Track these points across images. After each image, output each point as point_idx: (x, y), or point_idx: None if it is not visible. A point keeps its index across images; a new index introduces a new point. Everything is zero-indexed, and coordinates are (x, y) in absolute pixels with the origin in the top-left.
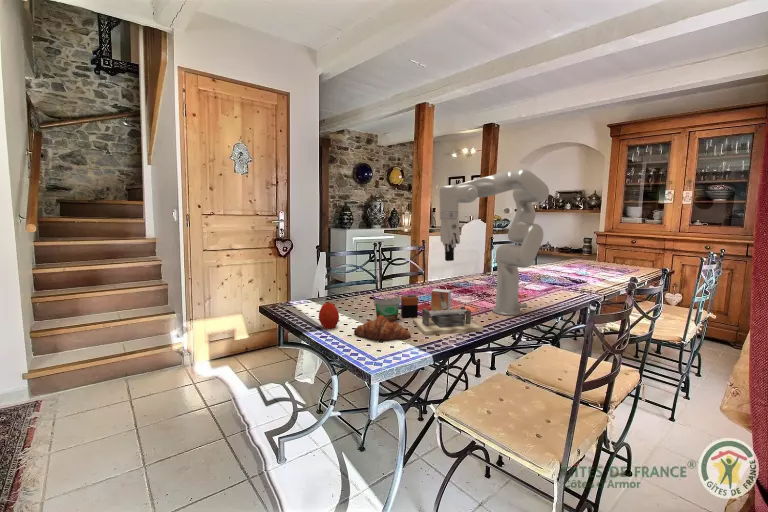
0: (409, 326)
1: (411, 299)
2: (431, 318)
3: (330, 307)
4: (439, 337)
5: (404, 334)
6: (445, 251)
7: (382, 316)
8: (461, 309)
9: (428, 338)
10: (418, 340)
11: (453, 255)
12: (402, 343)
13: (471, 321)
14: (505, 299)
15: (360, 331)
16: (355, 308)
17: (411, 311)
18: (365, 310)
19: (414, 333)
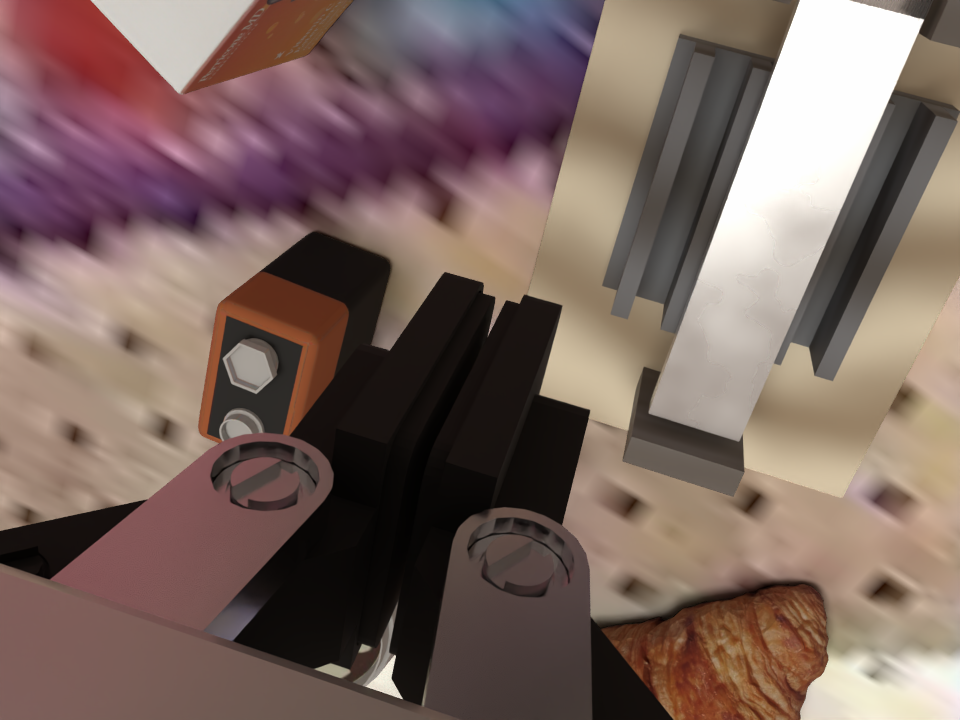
0: (583, 451)
1: (312, 392)
2: (609, 284)
3: None
4: (953, 420)
5: (826, 663)
6: (353, 662)
7: None
8: (815, 31)
9: (912, 499)
10: (897, 575)
11: (533, 387)
12: (874, 678)
13: None
14: None
15: None
16: (29, 522)
17: (360, 335)
18: (92, 493)
19: (749, 513)
